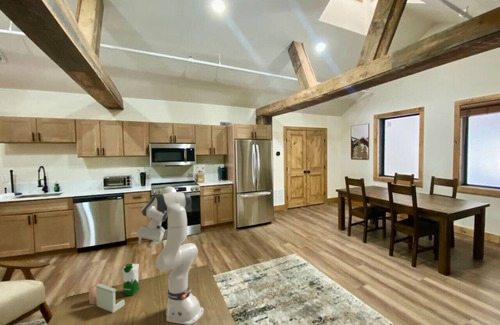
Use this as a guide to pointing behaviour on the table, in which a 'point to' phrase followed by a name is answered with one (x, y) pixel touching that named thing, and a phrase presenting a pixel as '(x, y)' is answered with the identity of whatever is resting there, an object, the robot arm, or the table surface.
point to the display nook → (107, 298)
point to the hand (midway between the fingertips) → (144, 244)
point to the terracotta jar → (92, 295)
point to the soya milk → (130, 279)
